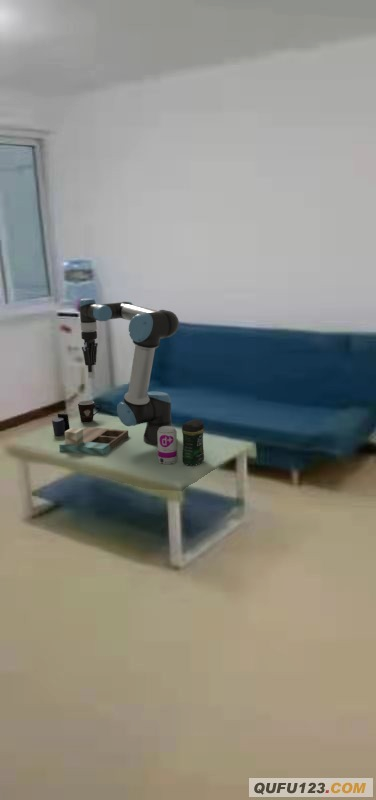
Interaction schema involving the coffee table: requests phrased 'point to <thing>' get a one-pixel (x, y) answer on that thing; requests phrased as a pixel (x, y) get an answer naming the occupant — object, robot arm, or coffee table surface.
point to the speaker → (60, 424)
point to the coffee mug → (87, 410)
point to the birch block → (73, 436)
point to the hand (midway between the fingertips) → (91, 378)
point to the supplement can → (167, 444)
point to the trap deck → (96, 441)
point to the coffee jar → (193, 442)
